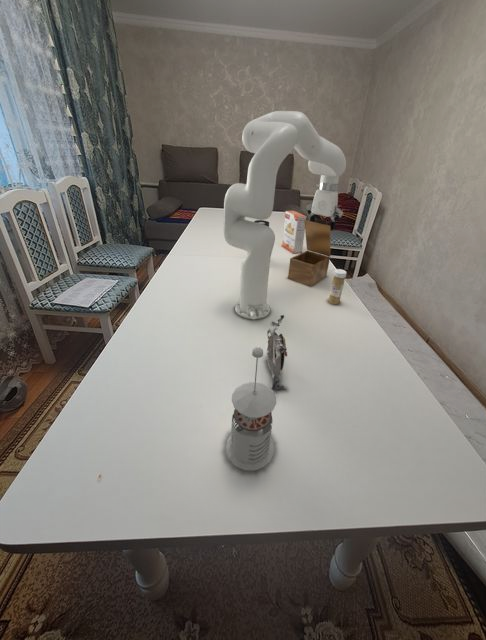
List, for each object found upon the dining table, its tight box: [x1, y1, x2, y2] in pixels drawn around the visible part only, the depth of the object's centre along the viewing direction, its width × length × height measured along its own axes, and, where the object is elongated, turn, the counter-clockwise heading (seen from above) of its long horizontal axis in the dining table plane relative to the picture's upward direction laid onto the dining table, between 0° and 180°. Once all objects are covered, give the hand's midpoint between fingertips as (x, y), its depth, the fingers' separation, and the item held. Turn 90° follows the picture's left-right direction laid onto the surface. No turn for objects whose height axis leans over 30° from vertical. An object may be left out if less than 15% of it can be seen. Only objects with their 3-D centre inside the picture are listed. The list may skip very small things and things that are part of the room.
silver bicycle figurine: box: [266, 314, 288, 391], centre depth 77 cm, size 15×4×13 cm, turn 6°
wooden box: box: [287, 250, 331, 287], centre depth 135 cm, size 16×12×10 cm
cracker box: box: [281, 210, 308, 254], centre depth 167 cm, size 14×6×21 cm, turn 25°
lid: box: [304, 218, 332, 258], centre depth 133 cm, size 16×12×5 cm
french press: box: [225, 347, 277, 471], centre depth 54 cm, size 10×12×25 cm
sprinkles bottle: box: [328, 268, 348, 305], centre depth 114 cm, size 5×5×14 cm
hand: (321, 227), depth 131 cm, fingers open, 9 cm apart
